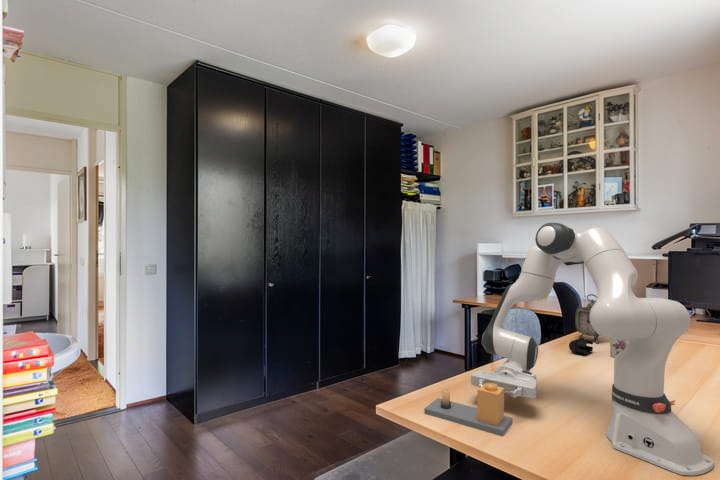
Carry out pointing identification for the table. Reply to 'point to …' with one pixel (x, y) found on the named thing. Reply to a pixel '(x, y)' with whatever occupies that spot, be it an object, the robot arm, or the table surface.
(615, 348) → the decorative jar
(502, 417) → the orange toy brick
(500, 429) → the mounting plate
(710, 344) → the table surface
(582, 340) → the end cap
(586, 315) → the tabletop clock
